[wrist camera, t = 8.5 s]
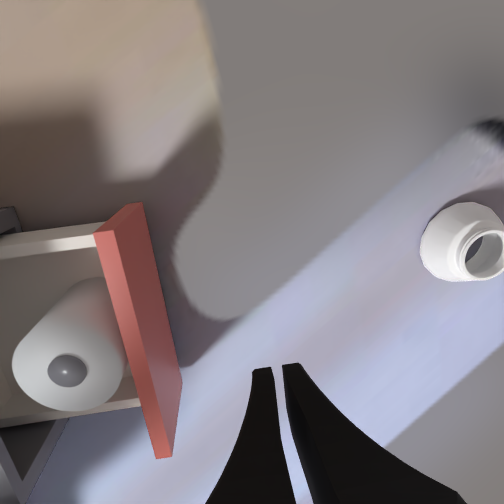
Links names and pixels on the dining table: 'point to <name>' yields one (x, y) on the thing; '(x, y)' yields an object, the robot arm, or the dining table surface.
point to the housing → (23, 429)
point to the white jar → (463, 243)
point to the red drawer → (125, 306)
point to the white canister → (73, 351)
